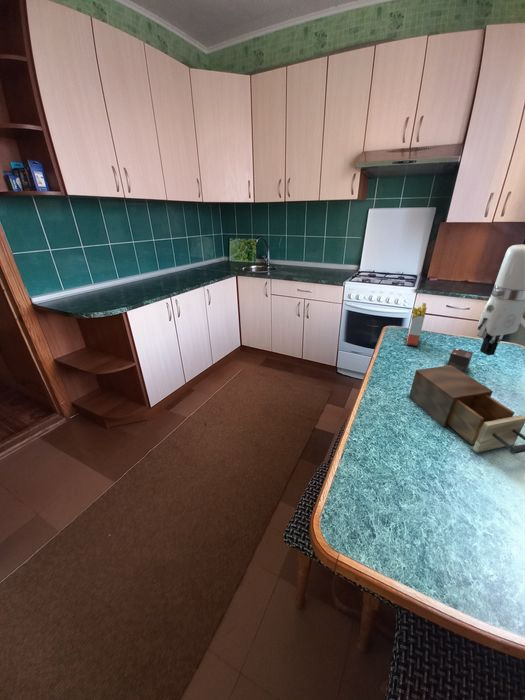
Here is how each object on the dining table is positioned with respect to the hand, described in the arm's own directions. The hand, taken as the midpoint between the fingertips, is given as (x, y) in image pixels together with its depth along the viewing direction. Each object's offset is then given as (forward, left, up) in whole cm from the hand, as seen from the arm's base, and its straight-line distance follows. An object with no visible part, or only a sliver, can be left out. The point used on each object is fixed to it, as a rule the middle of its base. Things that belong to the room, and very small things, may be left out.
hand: (486, 353), depth 87 cm
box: (-9, -15, -16) cm, 23 cm away
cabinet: (+13, +3, -16) cm, 21 cm away
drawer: (+13, +17, -15) cm, 26 cm away
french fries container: (-8, -39, -16) cm, 42 cm away
